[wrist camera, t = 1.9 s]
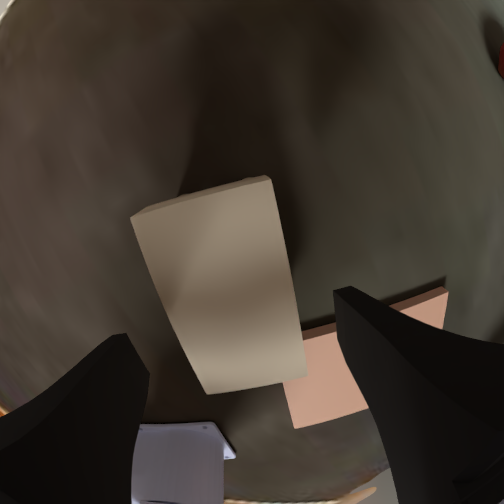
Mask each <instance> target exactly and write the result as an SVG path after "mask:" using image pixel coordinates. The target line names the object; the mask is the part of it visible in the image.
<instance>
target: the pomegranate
mask: <svg viewBox="0 0 504 504" xmlns="http://www.w3.org/2000/svg"><path fill="white" fill-rule="evenodd" d="M498 71H499V73H500V75H501V76H502V78H503V79H504V43H503V44H502V46H501V47H500V53H499V65H498Z"/></svg>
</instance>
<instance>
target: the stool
mask: <svg viewBox="0 0 504 504" xmlns="http://www.w3.org/2000/svg"><path fill="white" fill-rule="evenodd" d="M130 219H131V222H132V225H133V228H134V231H135V234H136V237H137V240H138V243H139V245H140V248H141V251H142V254H143V256H144V259H145V262H146V264H147V267H148V270H149V272H150V275H151V277H152V280H153V282H154V285H155V287H156V290H157V292H158V295H159V297H160V299H161V302H162V304H163V306H164V309H165V311H166V313H167V315H168V318H169V320H170V322H171V324H172V327H173V329H174V331H175V333H176V335H177V337H178V339H179V341H180V344H181V346H182V348H183V350H184V352H185V354H186V356H187V358H188V360H189V362H190V364H191V366H192V368H193V370H194V371H195V373H196V375H197V377H198V379H199V381H200V383H201V385H202V386H203V388H204V390H205V392H206V394H207V395H209V394H217V393H224V392H231V391H238V390H244V389H250V388H255V387H261V386H266V385H271V384H276V383H280V382H285V381H289V380H294V379H298V378H302V377H306V376H308V369H307V363H306V357H305V351H304V345H303V339H302V333H301V327H300V321H299V315H298V310H297V304H296V299H295V293H294V288H293V283H292V277H291V272H290V267H289V262H288V257H287V252H286V247H285V242H284V237H283V232H282V227H281V222H280V218H279V213H278V208H277V204H276V199H275V194H274V190H273V185H272V181H271V179H270V178H269V177H268V176H266V175H262V176H258V177H253V178H252V177H247V178H244V179H243V180H241V181H236V182H232V183H228V184H224V185H221V186H217V187H213V188H209V189H205V190H202V191H198V192H194V193H191V194H182V195H180V196H179V197H177V198H173V199H170V200H167V201H163V202H160V203H157V204H153V205H150V206H147V207H146V208H144V209H143V210H141V211H139V212H138V213H136V214H135V215H133V216H132V217H130Z"/></svg>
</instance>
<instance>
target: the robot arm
mask: <svg viewBox="0 0 504 504" xmlns="http://www.w3.org/2000/svg"><path fill="white" fill-rule="evenodd" d="M333 296H334V307H335V319H336V332H337V340H338V343H339V346H340V348H341V351H342V354H343V357H344V359H345V362H346V364H347V366H348V368H349V370H350V372H351V374H352V376H353V378H354V380H355V382H356V384H357V385H358V387H359V389H360V391H361V393H362V395H363V397H364V399H365V401H366V403H367V405H368V407H369V409H370V411H371V413H372V415H373V417H374V420H375V422H376V425H377V427H378V430H379V433H380V436H381V439H382V442H383V445H384V448H385V451H386V455H387V458H388V461H389V465H390V468H391V472H392V476H393V480H394V484H395V488H396V492H397V497H398V502H399V504H504V344H497V343H491V342H486V341H482V340H477V339H473V338H468V337H465V336H461V335H457V334H454V333H451V332H448V331H445V330H442V329H439V328H436V327H434V326H431V325H429V324H426V323H424V322H422V321H419V320H417V319H415V318H412V317H410V316H408V315H406V314H404V313H402V312H400V311H398V310H396V309H394V308H392V307H390V306H388V305H386V304H384V303H382V302H380V301H378V300H377V299H375V298H373V297H371V296H369V295H367V294H366V293H364V292H362V291H360V290H358V289H356V288H354V287H352V286H348V287H344V288H341V289H337V290H333ZM149 376H150V373H149V371H148V370H147V368H146V367H145V365H144V363H143V362H142V360H141V358H140V357H139V355H138V353H137V352H136V350H135V348H134V346H133V345H132V343H131V341H130V339H129V337H128V336H127V334H126V333H123V334H116V335H112V336H111V337H109V338H108V339H106V340H105V341H104V342H102V343H101V344H100V345H99V346H97V347H96V348H95V349H94V350H93V351H91V352H90V353H89V354H88V355H87V356H86V357H85V358H83V359H82V360H81V361H80V362H79V363H78V364H77V365H75V366H74V367H73V368H72V369H71V370H70V371H69V372H67V373H66V374H65V375H64V376H63V377H61V378H60V379H59V380H58V381H57V382H55V383H54V384H53V385H52V386H50V387H49V388H48V389H47V390H45V391H44V392H43V393H41V394H40V395H38V396H37V397H35V398H34V399H32V400H31V401H29V402H28V403H26V404H24V405H23V406H21V407H19V408H17V409H16V410H14V411H12V412H10V413H8V414H6V415H4V416H2V417H0V504H224V459H233V458H235V457H236V454H235V452H234V451H233V450H232V448H231V447H230V445H229V444H228V442H227V441H226V440H225V438H224V437H223V435H222V434H221V432H220V431H219V429H218V428H217V426H216V424H215V423H213V422H197V423H180V424H140V423H141V419H142V416H143V412H144V408H145V404H146V400H147V394H148V387H149Z"/></svg>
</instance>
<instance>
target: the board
mask: <svg viewBox="0 0 504 504" xmlns="http://www.w3.org/2000/svg"><path fill="white" fill-rule="evenodd" d="M447 298H448V291H447V290H446V289H444V288H443V287H442V286H441V287H438V288H436V289H433V290H430V291H428V292H425V293H423V294H420V295H417V296H415V297H412V298H409V299H406V300H404V301H401V302H398V303H395V304H392V305H389V306H390V307H392V308H394V309H396V310H398V311H400V312H402V313H404V314H406V315H408V316H410V317H412V318H415V319H417V320H419V321H422V322H424V323H426V324H429V325H431V326H434V327H436V328H439V329H442V326H443V321H444V316H445V311H446V305H447ZM301 333H302V339H303V345H304V351H305V357H306V363H307V369H308V376H306V377H302V378H298V379H294V380H289V381H285V382H283V386H284V390H285V394H286V397H287V401H288V405H289V409H290V413H291V417H292V421H293V424H294V428H295V429H296V428H300V427H305V426H309V425H313V424H317V423H321V422H325V421H328V420H332V419H335V418H339V417H342V416H345V415H348V414H352V413H355V412H358V411H361V410H364V409H366V408H369V407H368V405H367V403H366V401H365V399H364V397H363V395H362V393H361V391H360V389H359V387H358V385H357V384H356V382H355V380H354V378H353V376H352V374H351V372H350V370H349V368H348V366H347V364H346V362H345V359H344V357H343V354H342V351H341V348H340V346H339V343H338V340H337V332H336V322H335V323H331V324H328V325H324V326H320V327H317V328H313V329H309V330H305V331H301Z"/></svg>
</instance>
